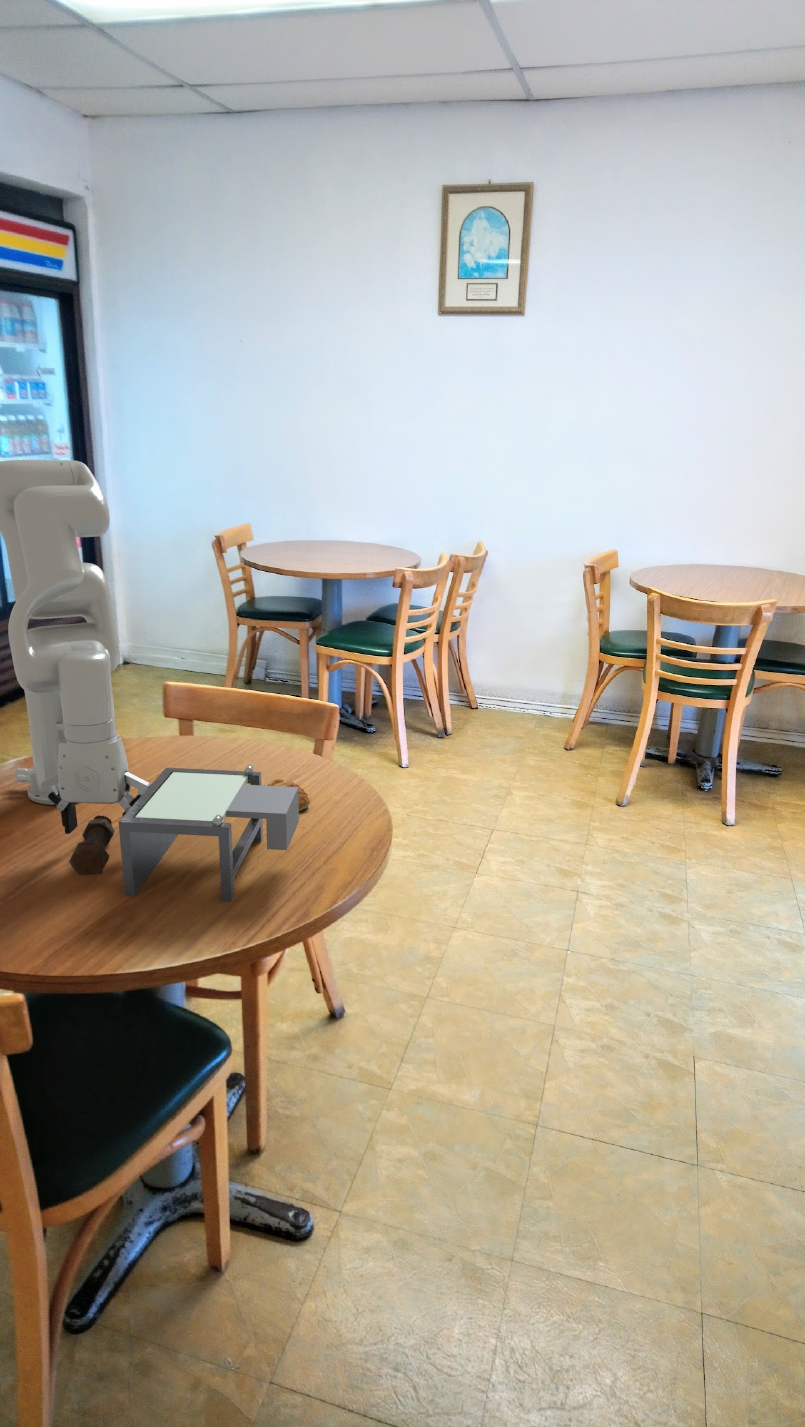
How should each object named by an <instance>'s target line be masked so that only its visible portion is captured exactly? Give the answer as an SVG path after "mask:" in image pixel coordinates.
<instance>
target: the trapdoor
mask: <svg viewBox="0 0 805 1427" xmlns="http://www.w3.org/2000/svg"><path fill="white" fill-rule="evenodd" d="M247 782H248V776H243V775H222V774H201V773H180V772H173V773H172V774H171V775H170V777H169V778H168V779H167V780H166V781H165V783H164V784H163V785H162V786H161V787H160V788H159V790H158V791H157V792H156V793H155V794H154V796H153V797H152V798H151V799H150V800H149V801H148V803H147V804H146V805H145V806H144V807H143V809H142V810H141V811H140V812H139V813H138V814H137V816H136V817H135V818H144V819H164V820H183V821H202V822H212V820H213V819H214V817H215V816H216V815H221V816H222V817H223V820H222V823H225V822H224V821H225V820H226V818H238V819H239V818H242V819H243V818H245V819H251V818H258V819H263V820H266V821H265V823H266V824H265V825H266V850H275V851H276V850H277V851H288V849H289V846H290V844H291V841H292V839H293V837H294V834H295V832H296V829H297V828H298V825H299V822H300V816H299V814H300V813H299V812H300V811H299V798H298V787H282V786H267V785H250V784H248V783H247Z"/></svg>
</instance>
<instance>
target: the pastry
mask: <svg viewBox="0 0 805 1427" xmlns="http://www.w3.org/2000/svg"><path fill="white" fill-rule="evenodd" d="M266 786H282V787H298V798H299V812H301V811H303V810H305V809H307V808H308V807H309V805H310V803H311V800H310V798H309V796H308V793H306V791H305V790H304V788H302V787H301V786H300V785H299V784H298V783H295V782H294V781H291V780H288V781H286V780H285V779H284V778H277V779H273V780H271V782H270V783H268V784H267V785H266Z"/></svg>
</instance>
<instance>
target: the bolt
mask: <svg viewBox="0 0 805 1427" xmlns="http://www.w3.org/2000/svg"><path fill="white" fill-rule="evenodd" d="M112 825H113V822H112V820H111V818H109V817H108V816H106V815H96V816H94V818H93V819H90V820H89V821H88V823H87V824H86V827H85V829H84V830H83V833H82V834H81V835H82V838H83V839H84V842H78V844H77V845H76V847H75V849H74V851H73V853H72V855H71V857H70V858H69V861H68V862H69V864H70V865H71V867H72V868H73V870H74V871H75V872H76V873H77V874H78V875H79V876H88V875H89V876H95V875H100V874H102V872H103V870H104V869H105V868H106V865H107V863H108V861H109V858H110V855H109V853H108V851H107V850H106V849H105V848H106V846H108V845H109V844H110V843H111V839H112V838H113V836H114V834H115V829H114V827H113V826H112Z"/></svg>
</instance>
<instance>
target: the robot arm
mask: <svg viewBox="0 0 805 1427" xmlns="http://www.w3.org/2000/svg"><path fill="white" fill-rule="evenodd" d="M110 519H111V518H110V509H109V506H108V502H107V499H106V496H105V493H104V491H103V488H102V487H101V486H100V483H98V481H97V479H96V478H95V475H94V474H93V472H92V471H91V470H90V468H89V467H88V466H87V465H86V464H85V463H83V462H82V461H79V460H72V459H71V460H68V459H67V460H66V459H64V460H62V459H55V460H53V459H51V460H50V459H48V460H47V459H43V460H42V459H10V460H1V461H0V534H1V537H2V538H3V541H4V544H5V549H6V553H7V560H8V567H9V573H10V578H11V579H10V580H11V584H12V590H13V595H14V599H15V603H14V605H13V607H12V609H11V612H10V616H9V619H8V620H9V621H8V628H7V629H8V634H7V635H8V642H9V648H10V651H11V657H12V658H11V659H12V662H13V663H12V664H13V669H14V673H15V677H16V680H17V682H18V684H19V686H20V687H21V688H22V689H23V690H24V691H23V692H24V697H25V702H26V703H25V704H26V711H27V719H28V727H29V737H30V744H31V754H32V762H33V768H28V767H27V768H26V767H18V768H16V771H15V779H16V780H15V781H16V782H17V783H28V784H30V786H29V787H28V789H27V796H28V798H29V800H31V801H33V802H35V803H37V804H39V805H40V804H41V805H50V806H52V805H55V806H56V809H57V810H58V811H60V816H61V825H62V827H63V828H64V834H66V835H70V834H71V833H73V831H75V830H76V828H77V827H78V817H77V808H76V805H75V803H76V804H96V805H97V804H100V805H103V804H104V805H106V804H107V805H110V804H113V805H114V804H117V803H118V805H119V806H120V807H121V808H122V809H123V810H124V811H123V812H122V815H121V816H122V817H123V816H124V815H125V814H126V813H127V812H128V810H129V809H130V808H131V807H132V806H133V805H134V804H135V802H136V801H137V800H138V799H139V798H140V797H141V796H142V794H143V793H144V792H145V791H146V790H147V789H148V788H149V786H150V785H151V784H152V783H150V782H148V781H146V779H143V778H140V776H136V775H134V774H133V773H131V772H130V767H129V762H128V757H127V753H126V750H125V746H124V743H123V740H122V737H121V736H120V735H117V728H116V726H117V725H116V717H115V716H116V714H115V705H114V695H113V692H114V691H113V684H112V683H113V682H112V672H114V671H115V670H116V669H117V667H118V666H119V663H120V647H119V640H118V639H119V638H118V633H117V628H116V622H115V615H114V610H113V602H112V596H111V592H110V587H109V582H108V580H107V577H106V574H105V572H104V571H103V570H102V568H100V566H98V565H96V564H94V563H91V562H90V563H89V562H82V560H81V556H80V552H79V551H80V550H79V547H78V543H77V538H91V537H93V538H94V537H102V536H103V535H105V534H106V533H107V532H108V530H109V527H110ZM73 617H81V618H83V619H84V620H85V621H86V622H82V623H80V622H79V623H72V624H71V623H69V624H57V625H47V626H46V625H45V626H38V627H34V628H30V629H28V626H29V621H30V619H31V620H45V619H46V620H47V619H58V618H59V619H60V618H61V619H62V618H73ZM132 787H133V788H135V789H137V791H138V792H137V794H136V796H134V795H133V794H132V793H131V788H132Z"/></svg>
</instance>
